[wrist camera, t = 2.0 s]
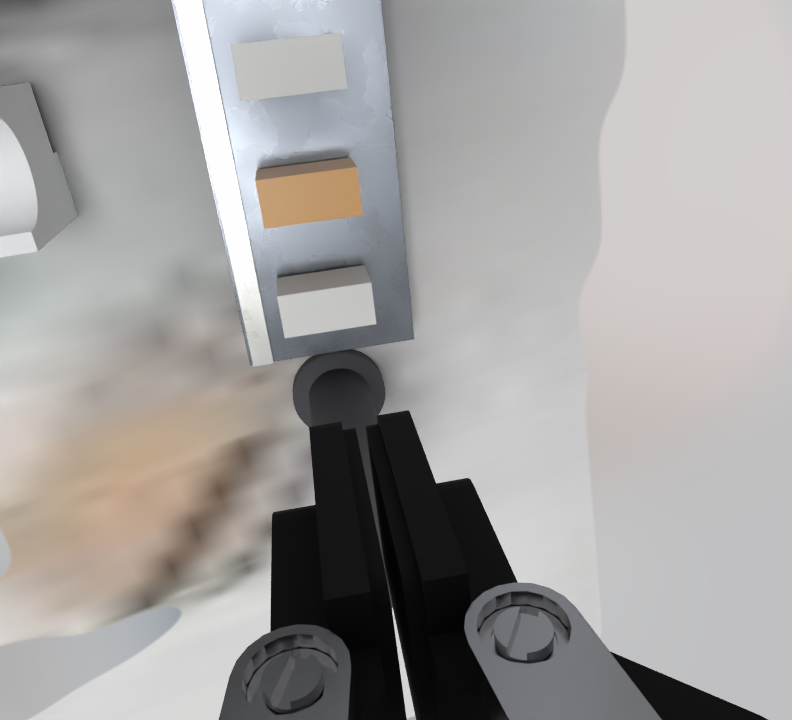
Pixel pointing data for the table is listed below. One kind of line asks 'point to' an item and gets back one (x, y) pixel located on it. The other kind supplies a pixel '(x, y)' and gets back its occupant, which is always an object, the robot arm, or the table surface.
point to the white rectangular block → (325, 301)
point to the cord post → (342, 400)
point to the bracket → (29, 177)
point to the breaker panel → (298, 144)
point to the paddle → (289, 66)
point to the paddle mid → (308, 192)
